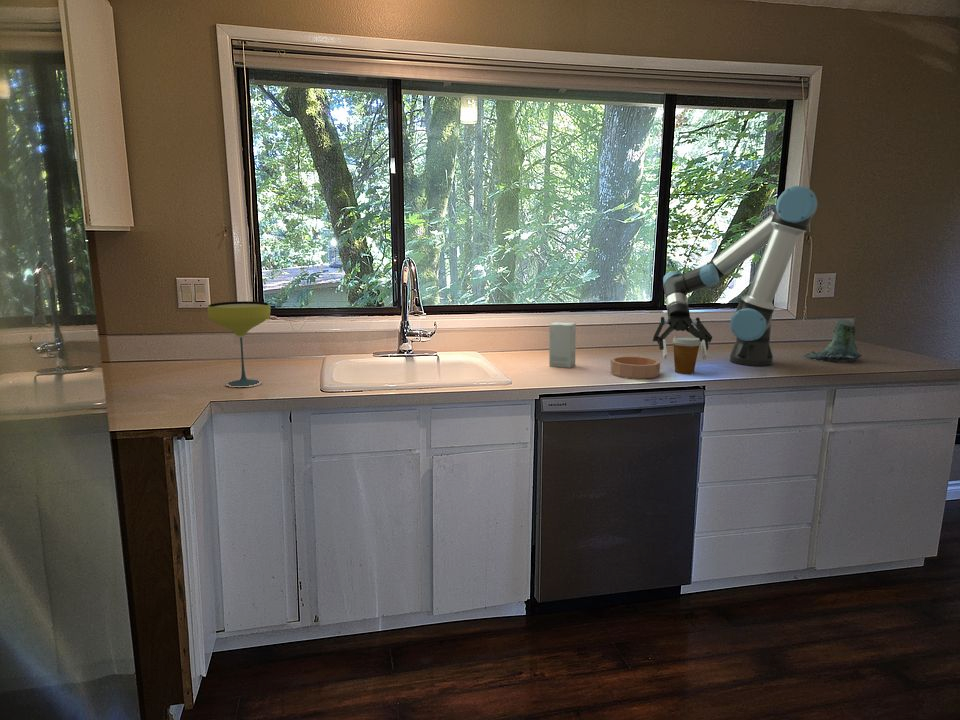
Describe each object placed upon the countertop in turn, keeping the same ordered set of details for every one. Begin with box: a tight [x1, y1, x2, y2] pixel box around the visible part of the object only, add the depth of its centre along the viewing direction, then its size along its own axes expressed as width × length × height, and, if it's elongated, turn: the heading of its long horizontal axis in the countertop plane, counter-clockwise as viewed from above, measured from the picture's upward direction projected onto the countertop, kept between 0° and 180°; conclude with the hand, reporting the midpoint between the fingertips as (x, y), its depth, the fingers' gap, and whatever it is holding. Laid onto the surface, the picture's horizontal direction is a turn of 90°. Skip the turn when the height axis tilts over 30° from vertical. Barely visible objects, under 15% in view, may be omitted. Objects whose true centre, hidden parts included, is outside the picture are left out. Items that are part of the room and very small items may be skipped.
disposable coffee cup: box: [671, 335, 701, 375], centre depth 232 cm, size 10×10×12 cm
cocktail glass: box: [207, 300, 271, 386], centre depth 206 cm, size 18×18×25 cm
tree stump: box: [804, 319, 863, 363], centre depth 258 cm, size 18×20×18 cm
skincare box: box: [548, 321, 577, 369], centre depth 240 cm, size 8×7×16 cm
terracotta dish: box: [609, 355, 661, 380], centre depth 229 cm, size 16×16×4 cm
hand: (685, 357), depth 231 cm, fingers open, 13 cm apart
